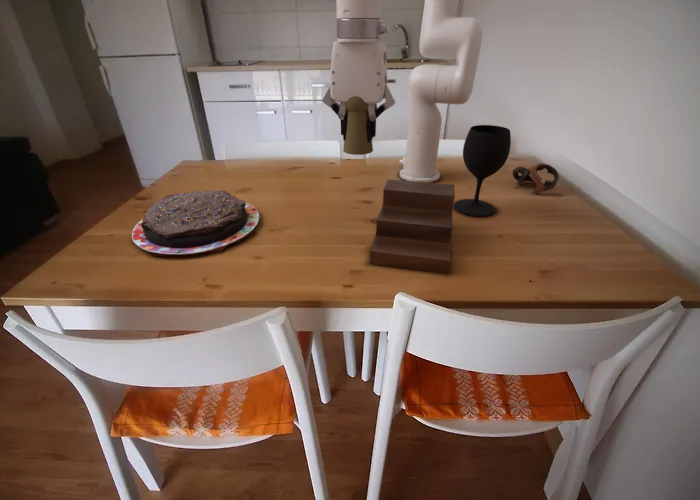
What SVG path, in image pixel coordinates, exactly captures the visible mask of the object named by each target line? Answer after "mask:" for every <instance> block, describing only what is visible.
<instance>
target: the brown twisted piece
mask: <svg viewBox="0 0 700 500" xmlns="http://www.w3.org/2000/svg"><path fill="white" fill-rule="evenodd" d="M545 169H546V170H547V173H548V174H551V175H553V177H554V179H553V180H548V179H545V181H544V182H542V180H543V178H542V176H540V175H539V173H538V171H543V170H545ZM519 174H520V175H519ZM512 177H513V179H514V180H515V181H516V182H517V184H518V185H519V186H521V185H522V183H525V182H530V183H533V184H536V185H537V186H536V187H535V188H534V189H533V193H534V194H536V195H539V194H541V193H542V192H547V191H550V190H552V189H554V188H555V187H556V186H557V183H558V181H559V178H560V175H559V172H558V170H557V169H556V168H555V167H553V166H552V165H550V164H547V163H544V162H542V163H536V164H535V165H533V166H530V167H528V168H526V167H524V166H517V167H515V168H514V169H513V170H512Z"/></svg>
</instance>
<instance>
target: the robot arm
mask: <svg viewBox="0 0 700 500" xmlns="http://www.w3.org/2000/svg"><path fill="white" fill-rule="evenodd" d="M382 1H383V0H335V2H336V3H335V5H336V6H335V8H336V9H335V10H336V41H333V45H332V51H331V63H330V76H329V77H330V78H329V80H330V82H329V87H328V88H327V90H326V93H325V94H324V95H323V98H322V103H324V104H325V105H326V106H328V107H329V108H330V109H331V110H332V112H334V113H335V114H336V116H338V119H339V120H340V136H342V140H343V142H344V141H345V140H346V131H347V113H348V110H347V109H346V105H345V103H346V102H347V101H348V99H349V98H350V97H353V96H358V97H361V98H362V99H363V100H364V102H366V103H367V104H368V112H369V117H368V121H367V130H366V132H367V142H371V139H372V140H373V139H374V138H376V134H377V119H378V118H379V117H380V116H381V115H382V114H383V113H384V112H385V111H387V110H388V109H390V108H392V107H393V106H395V104H396V99H395V98H394V95H393V93H392V92H391V90H390V88H389V86H388V59H387V58H388V55H387V47H386V41H383V40H381V38H382V36H383V35H385V34H389V33H390V24H389V23H385V22H383V20H382ZM458 6H459V0H424V3H423V12H422V20H421V26H420V27H421V28H420V35H419V44H418V45H419V53H420V55H421V56H422V57H423V58H426V59H430V60H431V59H432V60H450V61H451V60H456V61H458V63H457V64H458V65H456V64H455V65H454V64H453V65H451V64H435V63H433V64H432V63H429V64H428V63H427V64H426V63H425V64H421V65H420V64H419V65H417V66H415V67H414V68H413V69H412V70H411V72H409V73H410V74H409V76H408V83H407V84H408V85H407V89H408V100H409V101H408V102H409V103H408V104H409V108H408V109H409V110H408V111H409V113H408V126H407V140H406V152H405V156H403V158H402V159H400V160H399V164H400V165H403V166H402V167H403V168H401V170H400V171H399V177H400V178H401V179H403V181H415V182H428V183H435V182H437V181H439V180H440V179H441V173H440V172H439V171H438V170H437V162H438V154H439V146H440V138H441V131H442V125H443V118H442V114H441V111H440V109H439V108H438V106H437V104H444V105H445V104H446V105H463V104H466V103H467V102H468V101H469V100H470V98H471V95H472V93H473V89H474V84H475V79H476V74H477V68H478V63H479V58H480V53H481V48H482V42H483V26H482V23H481V21H480V19H478V18H476V17H474V16H457V11H458ZM383 100H385V101H384V102H383V103H381V102H382V101H383ZM379 103H381V104H380V105H379V106H378V104H379Z"/></svg>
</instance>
